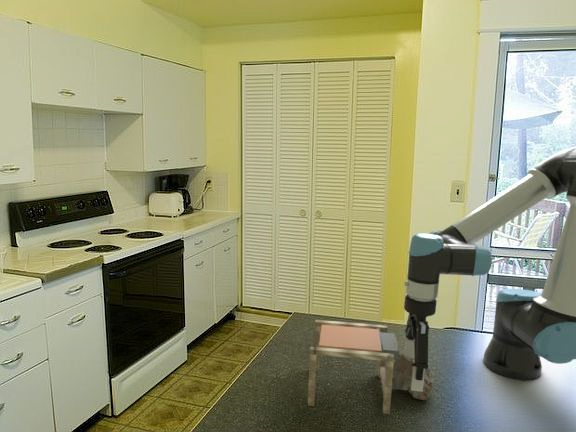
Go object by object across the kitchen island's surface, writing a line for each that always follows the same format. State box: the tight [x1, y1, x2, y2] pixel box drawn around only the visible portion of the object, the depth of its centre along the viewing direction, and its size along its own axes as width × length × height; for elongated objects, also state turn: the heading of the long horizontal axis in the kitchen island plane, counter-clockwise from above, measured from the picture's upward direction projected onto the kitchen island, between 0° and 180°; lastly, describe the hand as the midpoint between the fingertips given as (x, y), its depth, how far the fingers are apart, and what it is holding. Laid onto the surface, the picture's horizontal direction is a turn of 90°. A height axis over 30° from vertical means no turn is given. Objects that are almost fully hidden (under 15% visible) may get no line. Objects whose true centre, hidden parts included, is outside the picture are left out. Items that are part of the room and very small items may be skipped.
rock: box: [392, 353, 435, 401], centre depth 113 cm, size 9×12×10 cm
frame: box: [307, 319, 395, 415], centre depth 114 cm, size 20×18×15 cm
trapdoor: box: [319, 325, 400, 361], centre depth 112 cm, size 19×14×3 cm
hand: (412, 375), depth 113 cm, fingers open, 13 cm apart
